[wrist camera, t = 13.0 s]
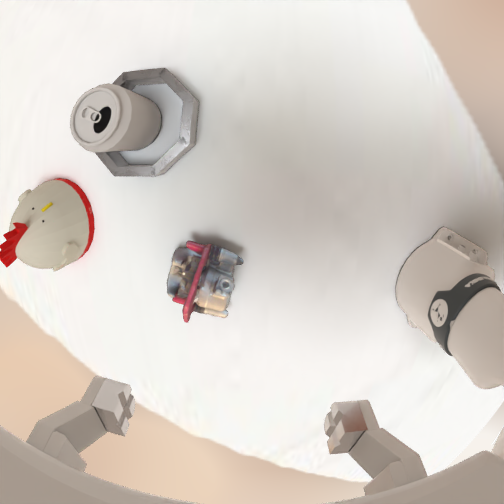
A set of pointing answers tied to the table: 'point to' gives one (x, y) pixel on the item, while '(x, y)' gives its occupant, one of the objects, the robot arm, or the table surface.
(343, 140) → the table surface
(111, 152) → the steel ring
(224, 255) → the brake caliper
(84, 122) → the can
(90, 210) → the kitchen timer
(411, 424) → the table surface
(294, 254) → the table surface
